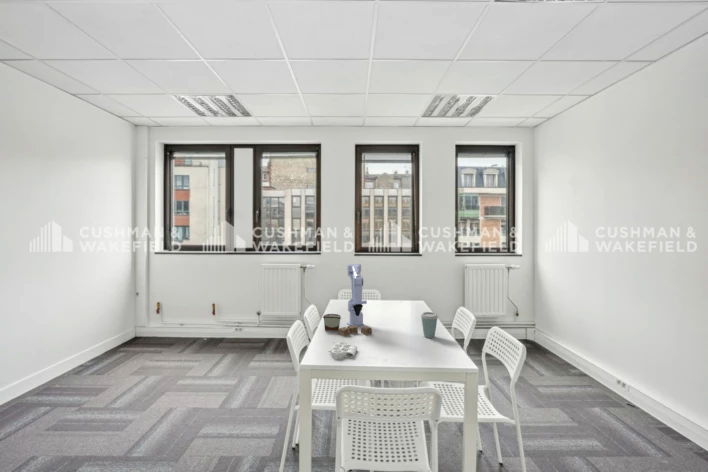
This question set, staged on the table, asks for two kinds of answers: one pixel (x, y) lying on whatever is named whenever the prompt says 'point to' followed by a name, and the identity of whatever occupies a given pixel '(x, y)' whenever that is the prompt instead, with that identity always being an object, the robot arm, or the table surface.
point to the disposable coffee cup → (429, 324)
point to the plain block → (353, 329)
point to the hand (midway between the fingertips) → (357, 315)
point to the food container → (331, 322)
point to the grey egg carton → (342, 350)
